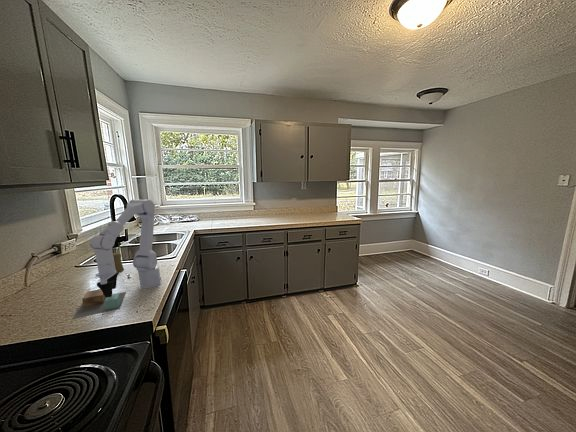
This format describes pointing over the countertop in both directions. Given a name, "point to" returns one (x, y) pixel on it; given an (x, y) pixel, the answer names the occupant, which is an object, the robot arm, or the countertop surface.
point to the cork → (118, 262)
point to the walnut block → (93, 298)
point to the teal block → (112, 302)
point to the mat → (96, 308)
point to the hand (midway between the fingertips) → (110, 292)
